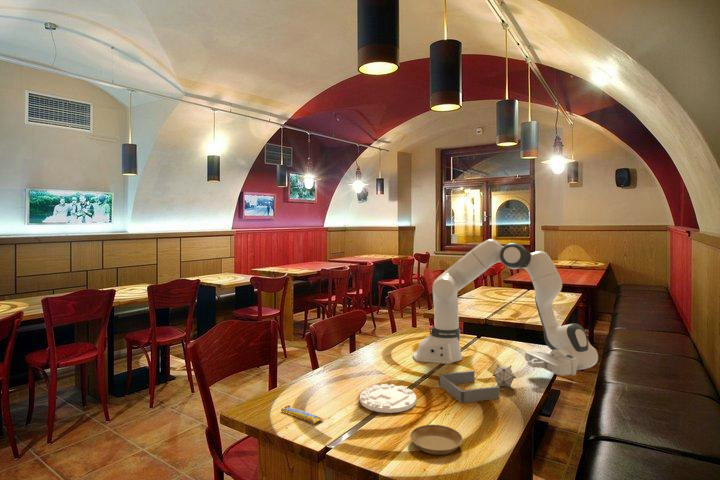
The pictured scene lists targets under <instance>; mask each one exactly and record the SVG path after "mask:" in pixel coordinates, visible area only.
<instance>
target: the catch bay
mask: <svg viewBox="0 0 720 480" xmlns="http://www.w3.org/2000/svg"><path fill="white" fill-rule="evenodd" d="M475 374H476V373H475V370H468V371H467V370H465V371H459V372H458V371H457V372H450V373H448V372H447V373H440V374H439V373H438V385H439V386H440V387H441V388H442V389H444V390H445V391H446V392H447V393H449V394H450V395H451V396H452V397H453V398H455V399H456V401H458V402H460V403H461V404H466V403H473V402H480V401H487V400H489V401H490V400H493V399H494V400H495V399H500V386H499V385H498V386H497V385H496V386H494V385H493V386H488V387H480V388H471V389H465V390H463V389H461V388H460V387H459V386H457V385H456V384H464V383H472V382H475V381H476V380H475V379H476V377H475Z"/></svg>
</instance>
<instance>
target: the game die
mask: <svg viewBox="0 0 720 480" xmlns="http://www.w3.org/2000/svg"><path fill="white" fill-rule="evenodd" d="M496 366H497V368H496V370H495V372H494V374H492V377H494V379H495V381H496V383H497V385H496V386H498V387H500V386H501V387H509V388H510V389H512V383H513V382H514V379H516V378H517V377H516V376H515V375H514V373H513V371H512V369H511V368H512V365H510V366H503V365H502V366H501V365H500V366H499V364H496Z"/></svg>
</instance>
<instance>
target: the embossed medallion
mask: <svg viewBox="0 0 720 480" xmlns="http://www.w3.org/2000/svg"><path fill="white" fill-rule="evenodd" d="M359 403H360V404H361V405H362V406H363V408H365V409H368V410H369V411H372V412H376V413H384V414H385V413H387V414H392V413H401V412H405V411H409V410H411V409H413V408H414V406H415V405H416V403H417V395H416V394H415V392H414V390H413V389H410V388H407V386H404V385H399V386H398V385H395V384H394V383H391V384H390V385H389V384H388V383H382V384H380V385H379V384H374V385H372V386H371V387H369V386H368V387H366V388H365V389H364V390H362V391H361V393H360V396H359Z"/></svg>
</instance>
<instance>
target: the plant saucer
mask: <svg viewBox="0 0 720 480" xmlns="http://www.w3.org/2000/svg"><path fill="white" fill-rule="evenodd" d="M409 437H410V440H411V442H412V443H413V444H414V445H415V446H416V447H417V448H418V449H419V450H420V451H422V452H424V453H427V454H430V455H438V456H441V455H442V456H443V455H449V454H450V453H453V452H454V451H456V450H457V449H458V448H459V447H460V446H461V445H462V443H463V440H464V439H463V435H462V434H461V433H460V432H459V431H458V430H456V429H454V428H452V427H449V426H445V425H440V424H425V425H421V426H420V425H419V426H417V427H415V428H413V429H412V431H411V432H410V434H409Z"/></svg>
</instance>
